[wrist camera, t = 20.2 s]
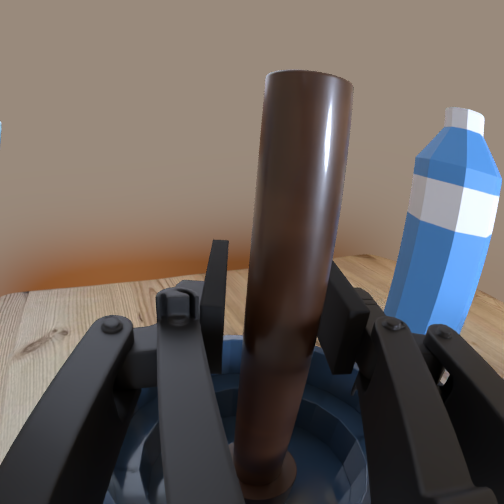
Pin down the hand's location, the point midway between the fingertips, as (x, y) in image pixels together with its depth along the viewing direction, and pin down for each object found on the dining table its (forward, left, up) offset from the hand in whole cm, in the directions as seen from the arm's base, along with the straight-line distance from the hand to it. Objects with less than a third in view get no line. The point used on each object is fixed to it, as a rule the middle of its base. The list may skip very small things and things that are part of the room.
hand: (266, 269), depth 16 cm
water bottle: (+15, +15, -13) cm, 25 cm away
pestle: (+2, -5, -12) cm, 13 cm away
